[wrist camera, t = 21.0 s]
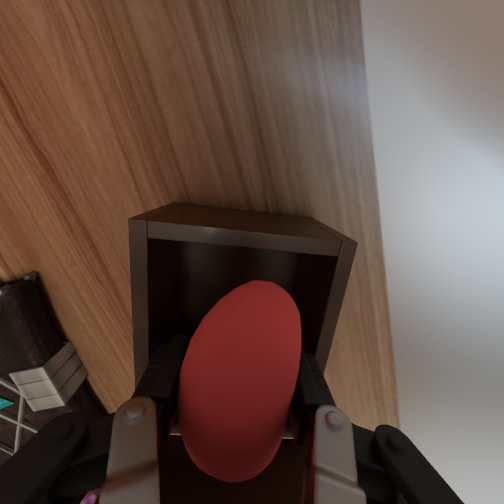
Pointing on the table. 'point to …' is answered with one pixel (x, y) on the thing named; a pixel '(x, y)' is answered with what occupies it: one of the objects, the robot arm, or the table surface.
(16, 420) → the book
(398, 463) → the robot arm
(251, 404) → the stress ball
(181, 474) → the lid
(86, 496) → the teapot
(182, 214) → the chest
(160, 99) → the table surface
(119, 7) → the table surface
